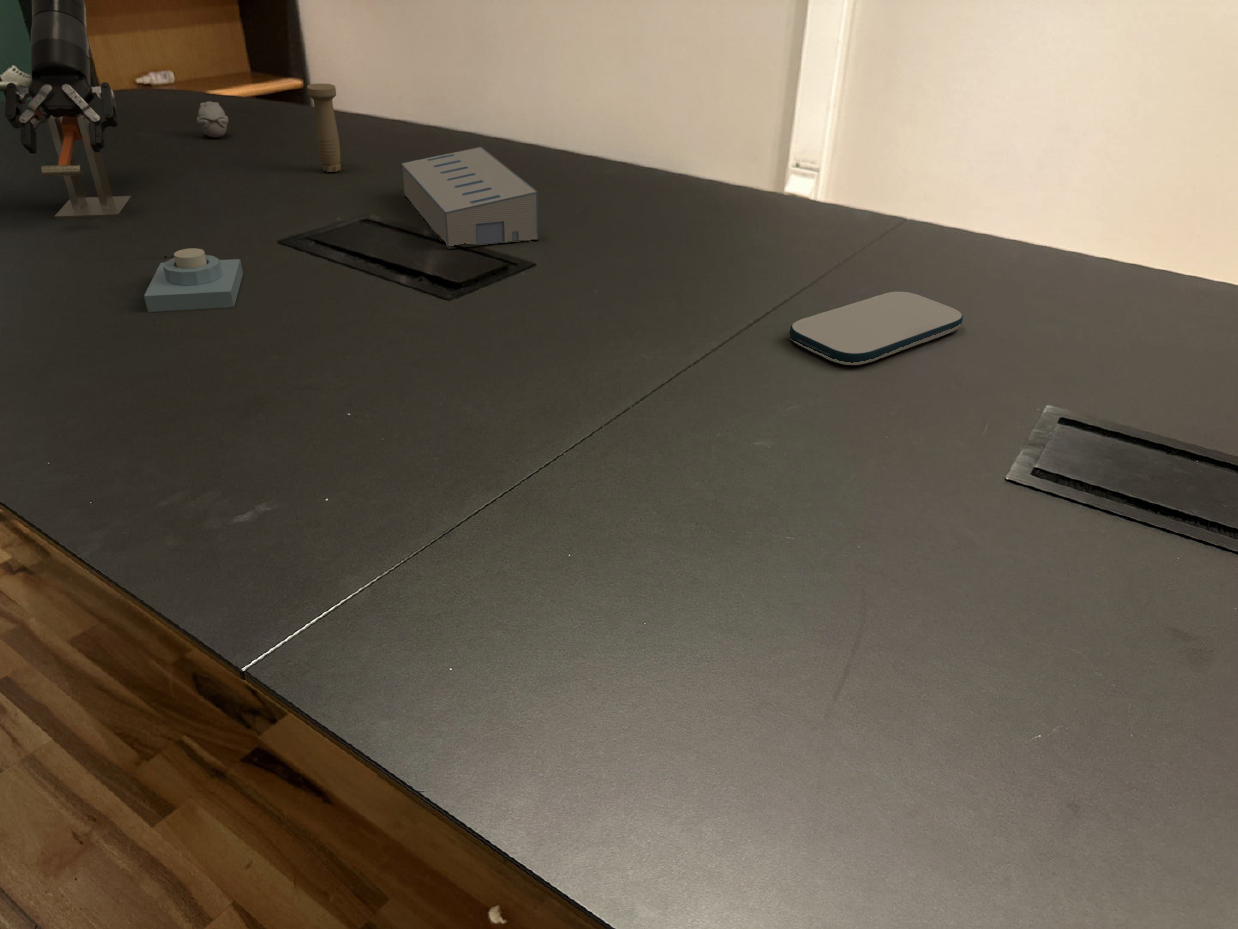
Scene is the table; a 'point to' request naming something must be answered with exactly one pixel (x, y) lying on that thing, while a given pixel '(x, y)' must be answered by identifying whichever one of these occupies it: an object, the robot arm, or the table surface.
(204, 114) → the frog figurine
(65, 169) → the lever
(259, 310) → the table surface
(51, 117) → the bracket
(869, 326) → the external hard drive
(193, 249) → the button
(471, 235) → the warehouse
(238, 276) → the button box
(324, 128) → the handle
